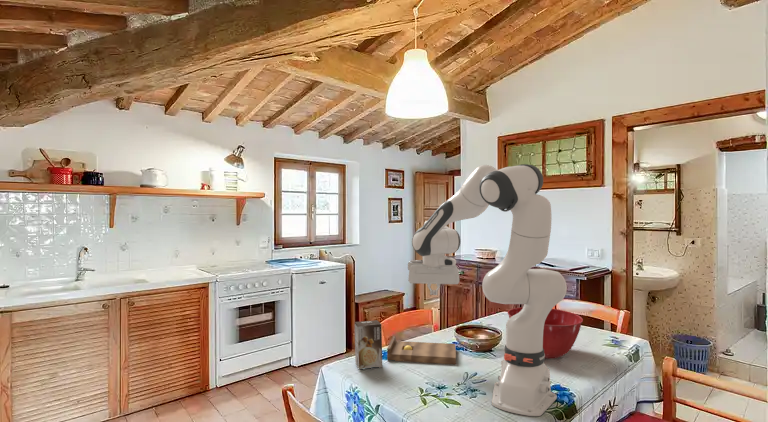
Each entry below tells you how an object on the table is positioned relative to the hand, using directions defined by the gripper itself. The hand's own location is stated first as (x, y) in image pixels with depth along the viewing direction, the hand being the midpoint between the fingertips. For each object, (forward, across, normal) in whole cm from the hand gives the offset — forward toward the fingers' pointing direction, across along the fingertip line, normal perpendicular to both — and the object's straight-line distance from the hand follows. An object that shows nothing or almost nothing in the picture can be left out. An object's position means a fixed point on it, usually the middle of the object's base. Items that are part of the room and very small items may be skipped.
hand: (433, 294), depth 162 cm
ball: (+22, -10, 0) cm, 25 cm away
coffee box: (+24, -24, -14) cm, 37 cm away
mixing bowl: (+24, +44, +10) cm, 51 cm away
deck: (+24, -5, 0) cm, 25 cm away
